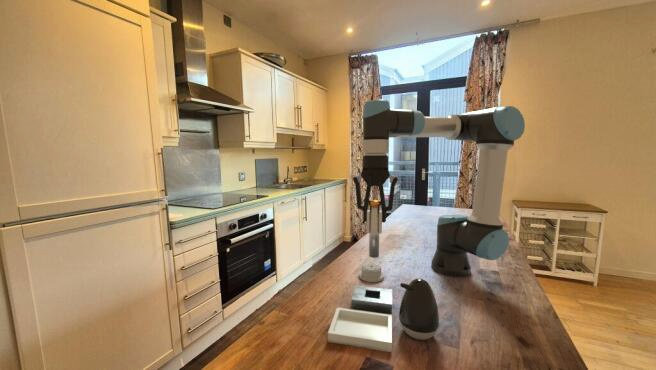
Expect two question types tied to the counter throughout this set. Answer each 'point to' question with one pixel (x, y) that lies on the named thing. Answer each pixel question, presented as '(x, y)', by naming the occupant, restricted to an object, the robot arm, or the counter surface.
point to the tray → (361, 329)
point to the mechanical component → (371, 273)
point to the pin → (374, 228)
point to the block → (372, 299)
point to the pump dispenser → (419, 310)
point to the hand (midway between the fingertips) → (374, 231)
